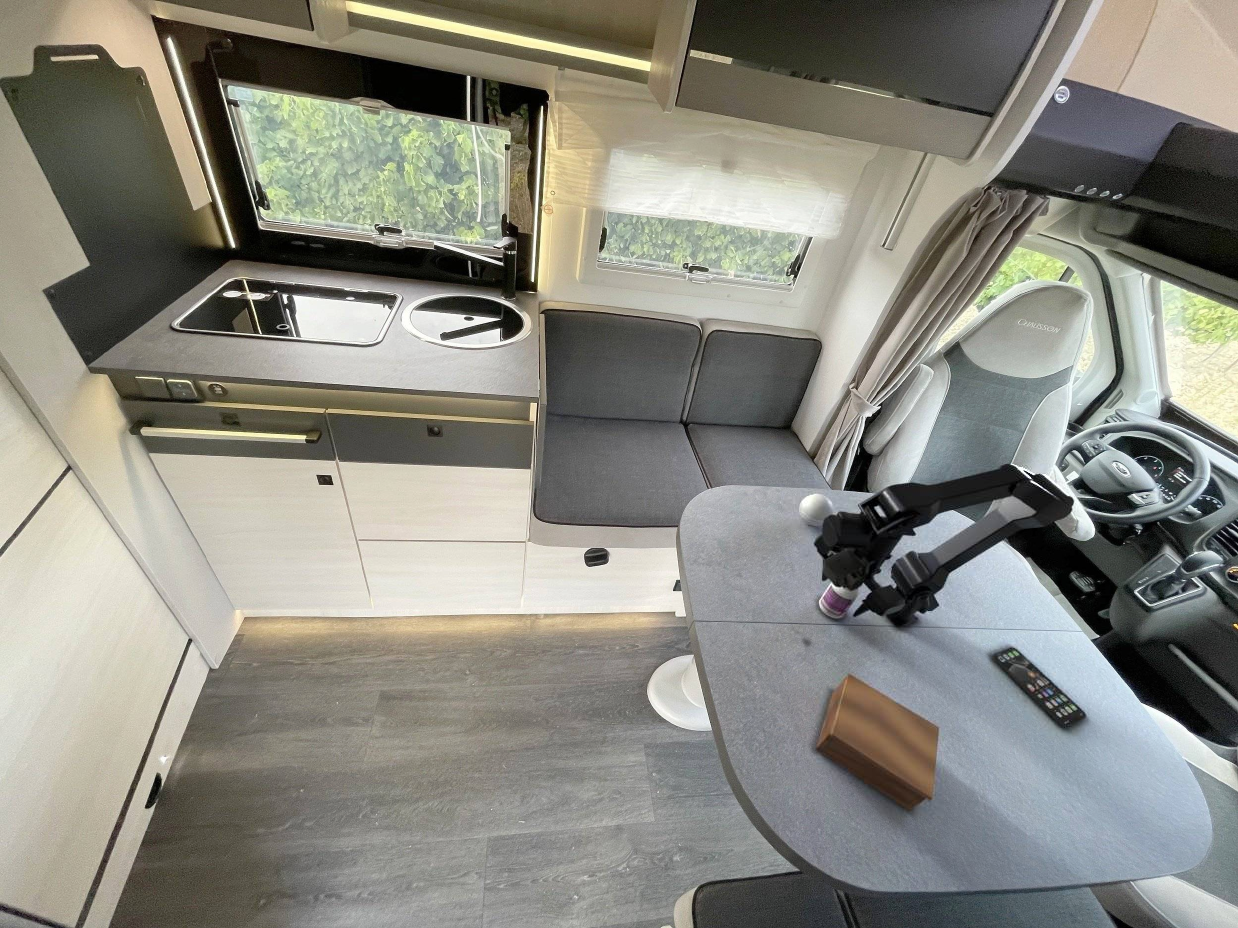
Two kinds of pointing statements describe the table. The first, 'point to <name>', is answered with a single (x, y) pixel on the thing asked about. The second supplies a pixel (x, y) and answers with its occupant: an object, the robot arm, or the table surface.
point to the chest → (862, 761)
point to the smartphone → (1039, 687)
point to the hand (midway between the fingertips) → (838, 597)
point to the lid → (887, 735)
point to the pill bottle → (837, 600)
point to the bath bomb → (815, 509)
